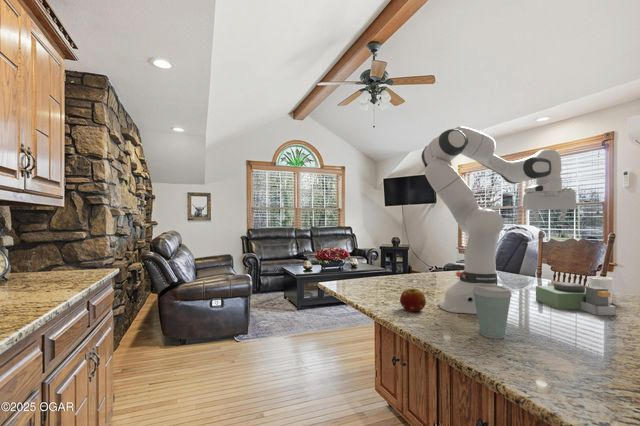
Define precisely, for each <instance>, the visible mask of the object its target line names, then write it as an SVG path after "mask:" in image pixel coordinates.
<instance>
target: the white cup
mask: <svg viewBox="0 0 640 426" xmlns="http://www.w3.org/2000/svg"><path fill="white" fill-rule="evenodd" d="M587 279H588V287H601V288H605V289H608V292H610V297H608V304H609V305H611V304H612V303H613V295H614V294H613V293H614V279H613V278H612V277H606V276H597V275H593V276H592V275H591V276H588V277H587Z"/></svg>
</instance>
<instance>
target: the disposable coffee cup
mask: <svg viewBox="0 0 640 426" xmlns="http://www.w3.org/2000/svg"><path fill="white" fill-rule="evenodd" d="M472 292H473V293H474V299H475V305H476V311H477V314H476V315H477V322H478V323H477V324H478V328H479V332H480V335H482V337H486V338H488V339H496V340H499V339H503V338H504V336H505V335H506V331H507V330H506V329H507V324H508V323H507V322H508V316H509V311H510V310H509V309H510V304H511V297H512V292H511V290H510V289H509V288H507V287H505V286H503V285H502V286H501V285H499V284H497V285H492V284H484V283H476V284H475V287H473V291H472Z"/></svg>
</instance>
